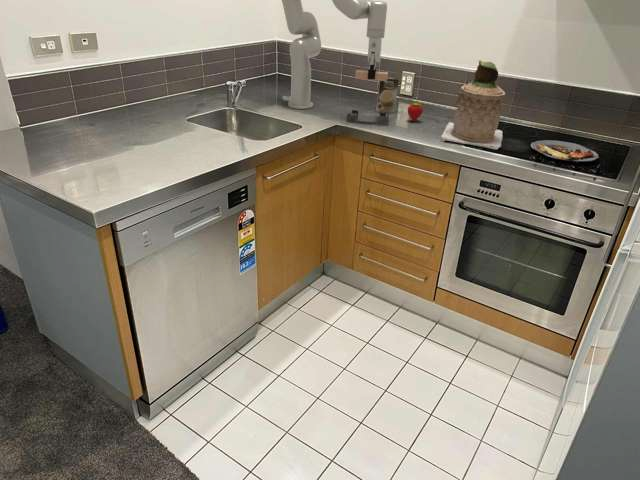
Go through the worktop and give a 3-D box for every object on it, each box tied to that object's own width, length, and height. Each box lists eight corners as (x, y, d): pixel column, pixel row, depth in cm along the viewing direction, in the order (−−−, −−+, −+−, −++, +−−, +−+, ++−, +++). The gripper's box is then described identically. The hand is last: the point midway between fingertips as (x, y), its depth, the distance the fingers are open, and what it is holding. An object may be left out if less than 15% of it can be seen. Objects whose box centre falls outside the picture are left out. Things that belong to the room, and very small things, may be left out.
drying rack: (346, 121, 222) (346, 114, 220) (348, 115, 231) (349, 108, 229) (387, 125, 220) (388, 118, 218) (388, 119, 228) (389, 112, 227)
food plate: (610, 163, 189) (613, 154, 187) (560, 168, 183) (563, 159, 181) (565, 144, 210) (567, 136, 208) (519, 147, 204) (520, 139, 202)
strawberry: (403, 119, 229) (406, 98, 224) (417, 118, 231) (420, 97, 226) (409, 123, 224) (412, 101, 219) (423, 122, 227) (427, 100, 222)
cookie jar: (500, 151, 197) (520, 69, 181) (439, 142, 204) (453, 61, 187) (502, 134, 217) (520, 58, 201) (447, 126, 224) (460, 52, 208)
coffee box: (376, 111, 239) (379, 78, 231) (376, 108, 245) (379, 75, 236) (394, 113, 238) (398, 79, 230) (394, 109, 244) (398, 76, 236)
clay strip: (386, 81, 213) (387, 74, 212) (355, 78, 215) (355, 71, 213) (387, 79, 217) (388, 72, 215) (356, 76, 218) (356, 69, 217)
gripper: (383, 36, 199) (378, 82, 208) (385, 31, 213) (381, 74, 222) (364, 35, 200) (361, 81, 209) (368, 30, 214) (364, 73, 223)
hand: (371, 77), depth 215 cm, fingers closed on clay strip, 4 cm apart
